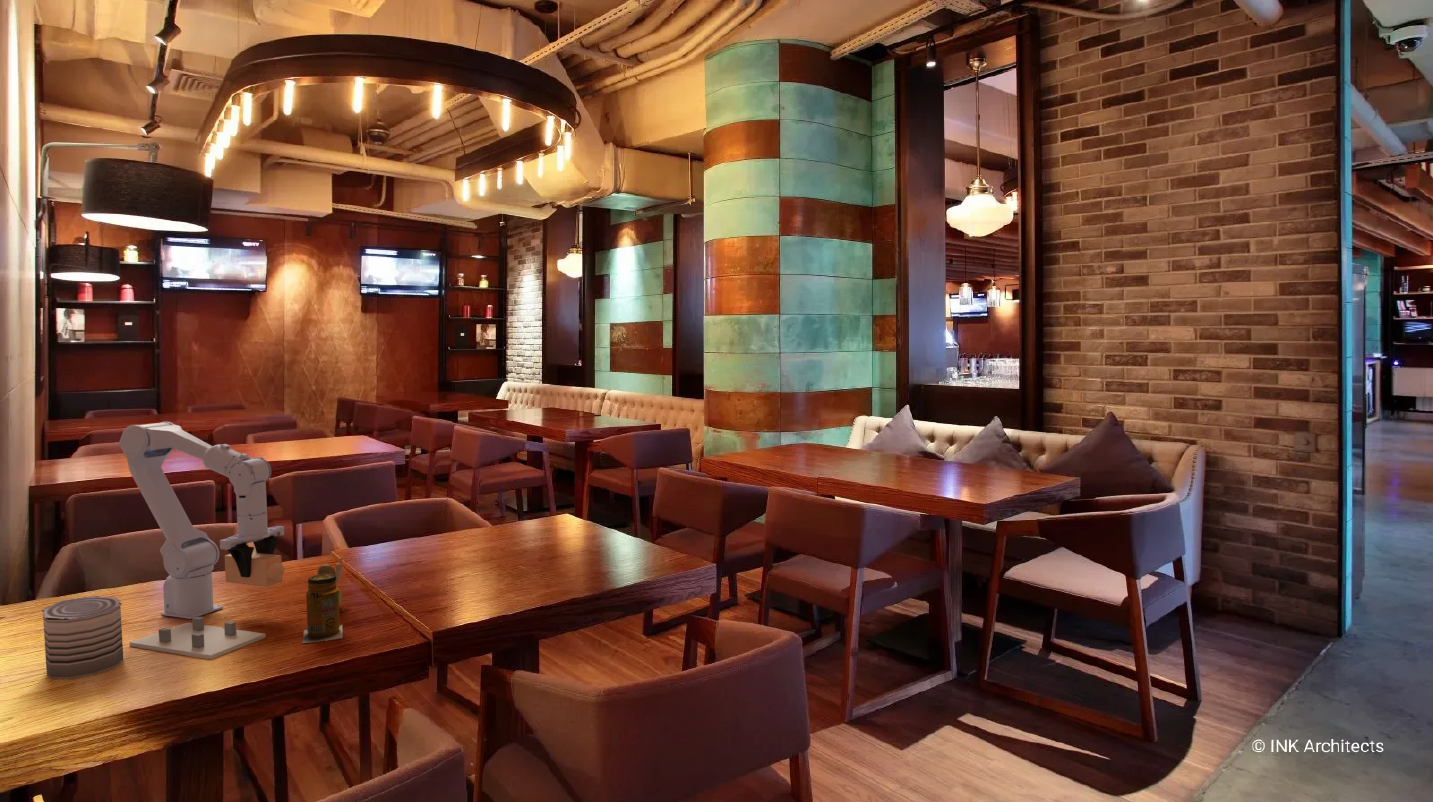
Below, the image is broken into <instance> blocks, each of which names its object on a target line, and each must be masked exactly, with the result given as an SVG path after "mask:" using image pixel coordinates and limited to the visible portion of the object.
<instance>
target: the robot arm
mask: <svg viewBox="0 0 1433 802" xmlns="http://www.w3.org/2000/svg"><path fill="white" fill-rule="evenodd" d="M118 445H119V447H120V449H121V451H122V452H123V454H124V456H125V459H126V461H127V466H128V471H129V473H130V475H131V476H132V478H133V480H134V482H135V484H136V486H137V487H138V489H139V491H140V494H141V496H142V497H143V498H144V500H145V503H146V504H147V507H148V508H149V510H150V512H151V514H152V516H153V517H154V520H155V521H156V523H157V525H158V526H159V530H161V532H162V534H163V536H164V537H165V541H164V543H163V545H162V546H161V548H159V549H160V550H159V552H160V553H161V554H160V555H161V556H162V559H163V567H164V570H165V571H166V572H167V574H168V576H167V577H166V579H165V580H164V582H163V586H162V587H163V588H162V590H163V591H162V593H163V609H164V611H162V612H160V615H161V616H167V617H174V618H180V619H189V620H192V618H194V617H202V616H204V615H207V614H210V613H212V612H215V611H218V610H219V611H220V610H221V609H223V608H224V606H223V605H218V604H214V589H213V570H215V567H214V566H215V564H216V563H218V561H219V559H220V550H225V551H227V552H228V553H229V554H231V555H232V557H233V558H234V560H235V562H236V564H237V567H238V569H239V572H240V575H241V577H250V575H251V558H252V553H254V550H255V553H263V554H273V555H274V552H275V550H276V548H277V546H278V545H279V542H280V541H279V540H280V539H279V538H278V537H277V536H285V526H282V525H275V526H270V527H268V510H267V509H268V506H267V505H268V503H267V485H266V484H267V483H266V482H267V481H269V479H270V478H271V476H272V467H271V464H270V463H269V462H268V461H267V460H266V459H264V457H260V456H256V457H253V458H252V457H249V454H248V453H244V452H243V453H241V452H239V451H237V450H234V449H232V448H231V445H229V444H227V443H223V444H219V443H218V444H216V445H211V444H209V443H208V442H205V441H203V440H202V439H200V438H198V437H197V436H194V435H193V434H191V433H189V432H187V431H185V430H183V429H182V426H181V425H178V424H174V423H173V422H171V421H161V422H157V423H156V422H155V423H147V424H130V425H129V426H127V427H125V428H124V429H123V431H122V434H121V437H120V440H119V442H118ZM174 450H177V451H179V452H183V453H185V454H187V455H189V456H193V457H194V458H197V459H199V460H200V459H201V460H202V462H203V463H202V464H203V465H204V467H205V468H207V469H210V470H211V471H213V472H216V473H218V474H220V475H222V476H224V477H226V478H228V480H229V482H230V484H231V485H232V486H233V493H235V497H236V522H237V523H236V524H237V534H234V535H231V536H229V537H227V538H224V539H220V540H219V547H218V545H217V543H215V542H214V541H212V540H211V539H210V537H209V535H208V534H207V532H206V531H202V530H200V529H197V528H196V527H194V526H193V524H192V522H191V521H190V519H189V517H188V514H187V513H186V511H185V509H184V508H183V506H182V503H181V502H180V500H179V498H178V496H177V495H176V493H175V491H174V489H173V487H172V485H171V484H170V482H169V480H168V478H167V476H166V474H165V472H164V470H163V468H162V466H163V463H164V462H165V461H166V460H167V459H168V457H169V456H170V454H171V453H172V452H173V451H174ZM251 543H253V545H254V546H249V544H251Z"/></svg>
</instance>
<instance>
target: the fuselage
mask: <svg viewBox="0 0 1433 802" xmlns="http://www.w3.org/2000/svg"><path fill="white" fill-rule="evenodd" d="M224 571H225V572H224V573H225V583H230V584H236V585H237V584H240V585H247V586H254V587H255V586H257V587H263V588H268V587H271V586H273V585H277V584H281V583H283V575H284V574H285V566H284V565H283V563H282V555H280V554H274V553H273V554H263V553H256V552H253V553H252V558H251V575H250V577H241V575H240V572H239V569H238V567H237V564H236V562H235V560H234V558H233V557H232V555H231V554H230V553H229V554H224Z"/></svg>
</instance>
